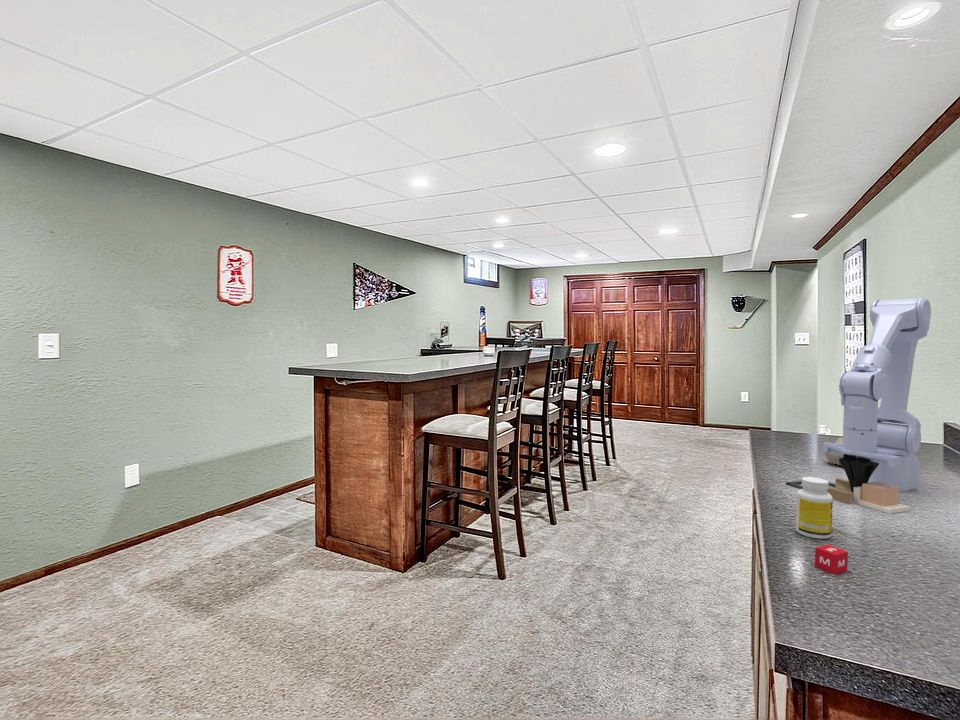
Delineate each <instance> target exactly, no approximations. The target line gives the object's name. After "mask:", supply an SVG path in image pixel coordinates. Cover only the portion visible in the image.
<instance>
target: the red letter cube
mask: <svg viewBox="0 0 960 720" xmlns="http://www.w3.org/2000/svg"><path fill="white" fill-rule="evenodd" d="M814 549H815V550H814V552H815V554H814V567H816V568H818V569H821V570H823V571H825V572H828V573H830V574H833V575H838V574H841V573H845V572H848V567H849V566H848V563H849V558H848V557H849V552H848V551H847V550H844V549H841V548H838V547H836V546H833V545H830V544H824V545H820V546H816V547H815V548H814Z"/></svg>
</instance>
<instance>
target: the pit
mask: <svg viewBox="0 0 960 720" xmlns="http://www.w3.org/2000/svg"><path fill="white" fill-rule="evenodd" d="M828 482H829V481H828ZM785 485H786V486H789V487H792V488H795V489H798V490H800V489H803V487H802V480H794V481H786V482H785ZM835 485H836V483H832V482H829V485H828V486H829V487H832V488H835Z"/></svg>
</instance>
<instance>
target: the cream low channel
mask: <svg viewBox="0 0 960 720" xmlns="http://www.w3.org/2000/svg"><path fill="white" fill-rule="evenodd" d="M852 504H857V505H860V506H863V507H866V508H870V509H873V510H877V511H878V512H879V511H880V512H883V513H886V514H890V515H891V514H896V513H904V512H910V508H911V507H910V506H909V505H906V504H901V503H898V504H897V505H890V506H883V507H882V506H879V505H876V504H872V503H869V502H866V501H862V486H860V487H854V493H853V495H852Z"/></svg>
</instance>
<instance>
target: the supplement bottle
mask: <svg viewBox="0 0 960 720" xmlns="http://www.w3.org/2000/svg"><path fill="white" fill-rule="evenodd" d="M801 481H802V484H801V486H802V487H803V489H798V491H797V492H796V505H795V506H796V507H795V509H796V510H795V531H796V532H797V533H798V534H800V535H803V536H805V537H807V538H812V539H818V540H819V539H822V540H823V539H826V540H827V539H830V538H831V537H832V533H833V532H832V531H833V529H832V527H833V501H834V500H833V498H832V496H831V495H830V494H829V493H827V490H828V488H829V487H830V486H828V485H829V481H828V480H827V479H823V478H820V477H813V476H804V477H802V478H801Z"/></svg>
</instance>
